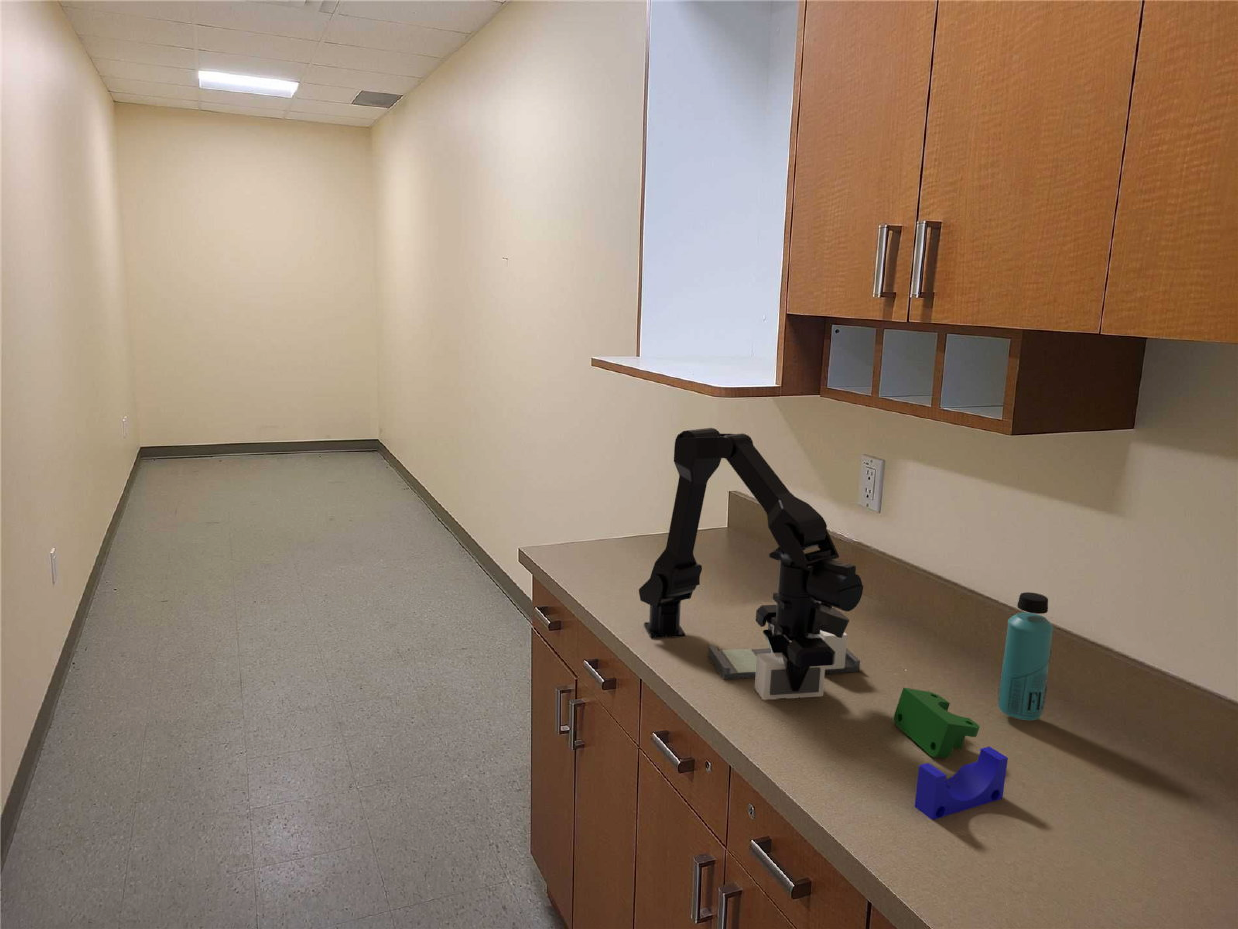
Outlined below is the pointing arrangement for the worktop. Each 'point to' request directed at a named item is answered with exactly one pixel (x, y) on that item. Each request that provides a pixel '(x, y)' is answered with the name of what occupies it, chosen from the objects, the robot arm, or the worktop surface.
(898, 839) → the worktop surface
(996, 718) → the worktop surface
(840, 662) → the block
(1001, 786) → the blue bracket
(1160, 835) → the worktop surface
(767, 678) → the white rectangular prism
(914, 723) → the clamp
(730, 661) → the rail
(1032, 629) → the beverage bottle
